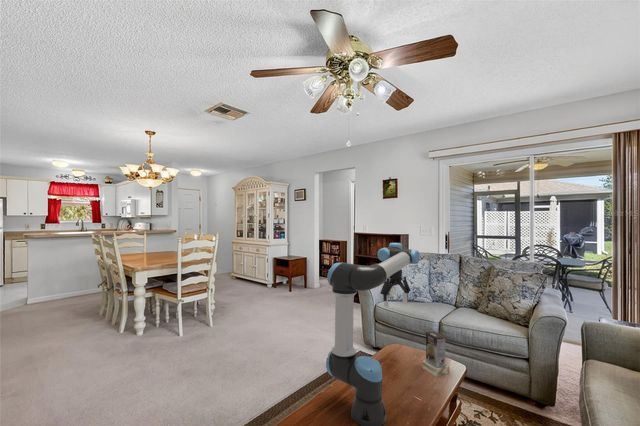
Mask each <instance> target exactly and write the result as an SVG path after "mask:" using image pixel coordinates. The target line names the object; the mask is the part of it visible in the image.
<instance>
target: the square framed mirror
mask: <svg viewBox="0 0 640 426" xmlns="http://www.w3.org/2000/svg"><path fill="white" fill-rule="evenodd" d="M422 369H423V370H424V371H426V372H427V373H429V374H430V375H432V376H434V377H435V378H436V377H441V376H443V375H448V374H450V365H448V364H447V363H445V366H441V367H435V366H434V365H432V364H431V363H430V362H428V361H427V360H426V359H425V360H422Z"/></svg>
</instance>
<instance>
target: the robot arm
mask: <svg viewBox="0 0 640 426" xmlns="http://www.w3.org/2000/svg"><path fill="white" fill-rule="evenodd" d="M376 255H377V258H378V260H379V261H381V262H379V263H374V264H373V263H372V264H371V265H361V264H355V263H349V262H348V263H347V262H336V263H334V264H332V265H331V267H330V268H329V269H328V272H327V277H326V279H327V283H328V285H329V286H331V287H332V288H331V289H332V291H331V292H332V293H333V295H335V297H334V298H335V303H334V305H335V306H334V307H335V308H334V311H335V312H334V346H333V347H332V348H331V350H330V351H329V352H328V355H327V357H326V360H325V368H326V371H327V373H328V374H329V375H330V376H331V377H332V378H334V379H335V380H336V381H340V382H341V383H344V384H347V386H348V385H349V386H351V387H352V388H354V397H353V401H352V405H351V408H350V416H351V419H352V420H353V422H354V423H355V424H357V425H359V426H383V425H384V424H385V423H386V421H387V410H386V407H385V404H384V401H383V369H382V365H381V363H380V362H379V361H378V360H377V359H375V358H373V357H371V356H365V355H361V356H358V357H357V350H356V349H355V347H354V304H355V302H354V300H355V299H354V298H355V295H356V294H357V293H358V292H366V291H370V290H373V289H376V288H378V287H379V286H381V285H382V288H381V290H380V293H379V294H381V295H383V301H384V303H383V305H384V307H386V308H388V307H389V295H388V294H389V293H390V291H391V289H392V288H393V287H394V286H399V287H400V288H401V291H403V292H402V304H404V305H407V304H408V294H409V293H410V292H411V288H410V286H409V283H408V281H407V276H405V275H403V270H402V269H403V268H406V267H407V266H409V265H411V264H412V265H417V264H419V263H420V258H421V254H420V252H419V250H417V249H412V248H411V249H410V248H409V249H408V248H403V244H402V243H401V242H390V243H389V245H388V247H382V248H380V249H378V251H377V254H376Z"/></svg>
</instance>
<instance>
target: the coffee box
mask: <svg viewBox="0 0 640 426" xmlns="http://www.w3.org/2000/svg"><path fill="white" fill-rule="evenodd" d="M425 360H427V361H428V362H430V363H431V364H432V365H434V366H435V367H441V366H445V364H446V336H444V335H443V334H440V333H439V332H437V331H435V330H434V331H426V332H425Z"/></svg>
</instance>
